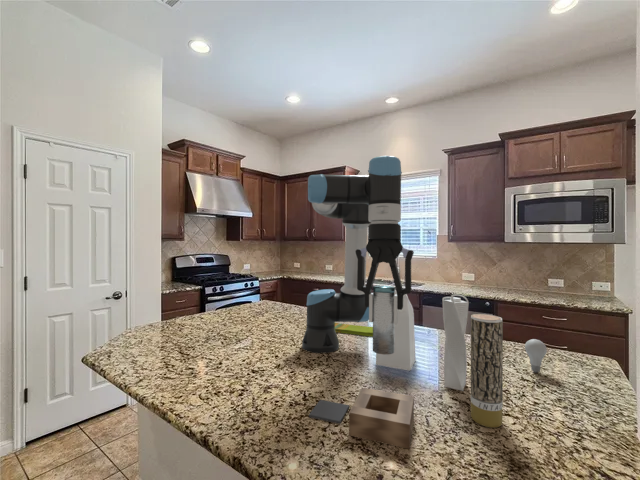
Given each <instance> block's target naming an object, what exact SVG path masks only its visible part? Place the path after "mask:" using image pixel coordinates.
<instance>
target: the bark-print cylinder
mask: <svg viewBox="0 0 640 480" xmlns="http://www.w3.org/2000/svg"><path fill="white" fill-rule="evenodd" d="M503 323H504V322H503V317H500V316H497V315H494V314H493V315H492V314H488V313H487V314H486V313H484V314H483V313H473V314H471V315H470V417H471V419H472V420H473V422H475V423H476V424H478V425H479V426H482V427H485V428H492V429H494V428H500V427H501V426H502V425H503V406H504V405H503V402H504V401H503V400H504V399H503V397H504V396H503V391H504V389H503V387H504V386H503V381H504V380H503V378H504V377H503V372H504V370H503V369H504V368H503V360H504V359H503V348H504V347H503V344H504V343H503V341H504V339H503V335H504V334H503V329H504V328H503Z"/></svg>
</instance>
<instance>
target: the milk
mask: <svg viewBox="0 0 640 480" xmlns="http://www.w3.org/2000/svg"><path fill="white" fill-rule="evenodd" d="M395 294H397V291H396V289H395ZM415 336H416V334H415V312H414V307H413V305H412V303H411V301H410V299H409V296H408V294H405V295H403V308H402V310H398V324H397V325H395V337H394V353H393V354H388V355H384V354H378V353H375V354H376V355H375V366H381V367H387V368H392V369H397V370H403V371H404V370H405V371H408V372H409V371H410V372H411V371H412V368H413V366H414V365H415V362H416V361H417V359H416V357H417V356H416V337H415Z"/></svg>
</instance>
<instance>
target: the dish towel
mask: <svg viewBox="0 0 640 480" xmlns="http://www.w3.org/2000/svg"><path fill="white" fill-rule="evenodd" d="M335 331H336V334H343V335H350V334H351V336H358V335H359V336H361V337H367V338H368V337H369V338H373V326H366V325H365V326H364V325H355V324H347V323H342V322H335ZM359 336H358V337H359Z"/></svg>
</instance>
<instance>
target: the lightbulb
mask: <svg viewBox="0 0 640 480" xmlns="http://www.w3.org/2000/svg"><path fill="white" fill-rule="evenodd" d="M524 349H525V352H526V354H527V355H528V358H529V359H528V360H529V363H530V370H531V371H532V372H534V373H539V372H541V366H542V363H543V359H544V357H546V355H547V352H548V350H547V349H548V348H547V346H546V344H545V343H544V342H543V341H541V340H540V339H536V338H532V339H529V340H527V341H526V342H525V345H524Z"/></svg>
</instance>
